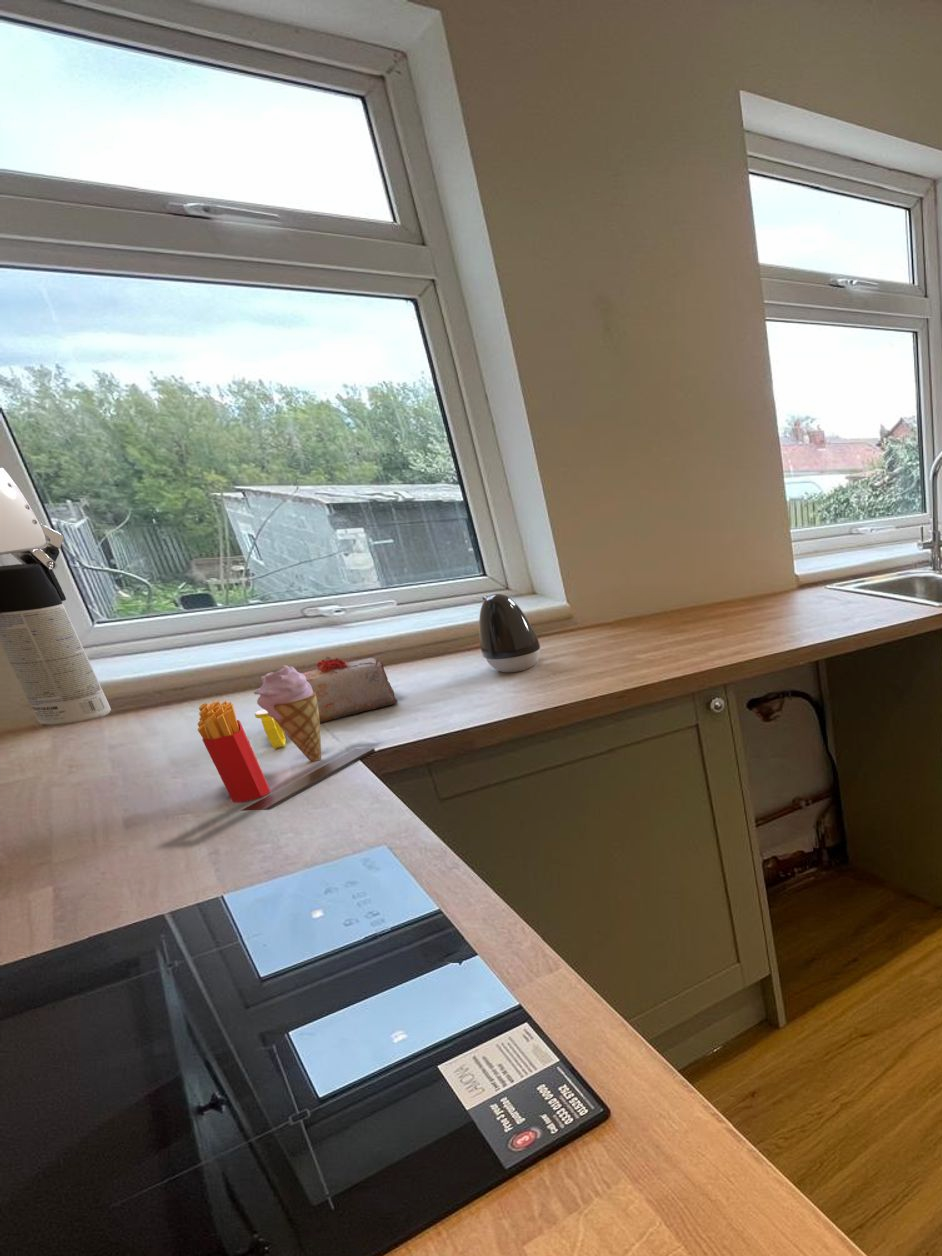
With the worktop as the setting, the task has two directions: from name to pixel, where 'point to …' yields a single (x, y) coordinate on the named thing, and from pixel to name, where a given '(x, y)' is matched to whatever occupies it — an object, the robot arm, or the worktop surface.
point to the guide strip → (309, 780)
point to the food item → (349, 687)
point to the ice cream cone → (293, 708)
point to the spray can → (46, 649)
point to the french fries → (231, 752)
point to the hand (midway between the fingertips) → (20, 606)
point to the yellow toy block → (271, 729)
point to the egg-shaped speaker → (506, 635)
